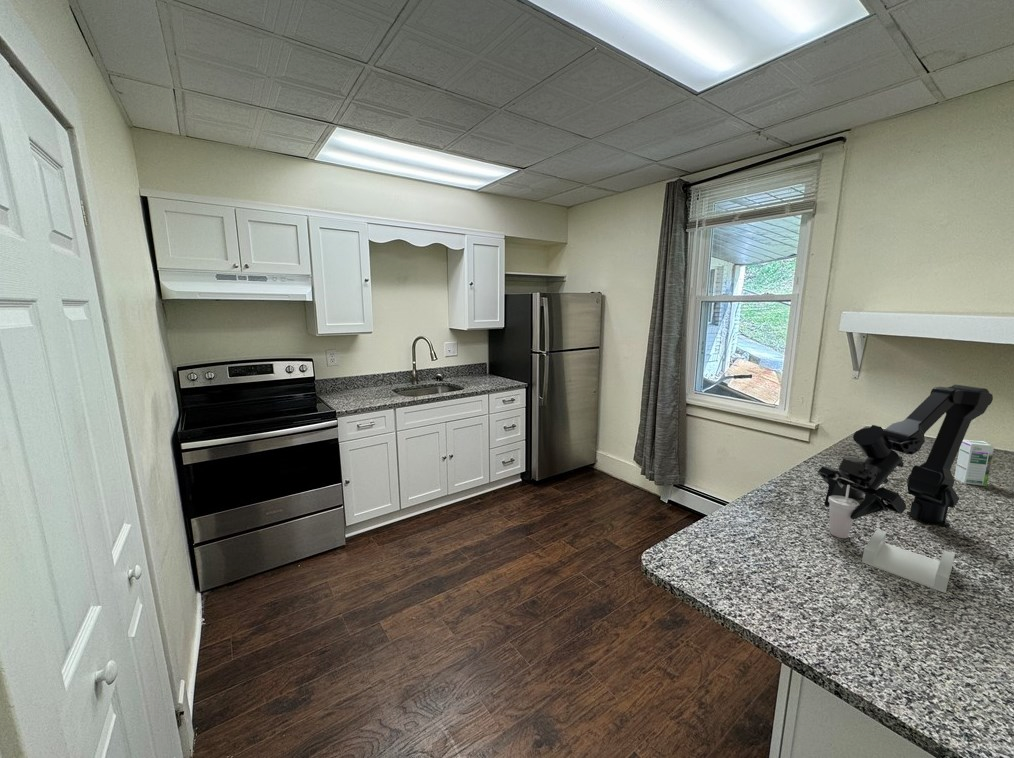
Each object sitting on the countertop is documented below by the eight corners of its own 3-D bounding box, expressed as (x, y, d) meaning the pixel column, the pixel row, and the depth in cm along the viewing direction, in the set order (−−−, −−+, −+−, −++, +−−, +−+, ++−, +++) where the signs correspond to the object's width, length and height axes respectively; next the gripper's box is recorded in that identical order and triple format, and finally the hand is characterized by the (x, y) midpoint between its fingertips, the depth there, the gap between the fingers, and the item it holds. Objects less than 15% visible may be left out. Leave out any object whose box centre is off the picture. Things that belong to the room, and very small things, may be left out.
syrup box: (964, 483, 140) (972, 443, 138) (953, 477, 146) (961, 438, 143) (986, 486, 138) (995, 445, 136) (974, 479, 144) (983, 440, 141)
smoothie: (860, 542, 104) (868, 491, 102) (831, 539, 106) (839, 489, 103) (845, 529, 111) (852, 480, 108) (818, 527, 112) (825, 478, 109)
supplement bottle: (856, 491, 134) (862, 457, 132) (867, 501, 127) (873, 464, 125) (831, 488, 136) (836, 454, 134) (840, 497, 130) (845, 461, 128)
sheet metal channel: (874, 541, 105) (877, 529, 105) (952, 567, 95) (955, 553, 94) (861, 562, 96) (864, 548, 96) (945, 593, 86) (948, 578, 85)
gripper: (827, 438, 114) (790, 479, 113) (905, 462, 96) (862, 511, 95) (845, 462, 117) (809, 502, 117) (924, 489, 99) (883, 537, 99)
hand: (838, 512), depth 107 cm, fingers closed on smoothie, 6 cm apart
